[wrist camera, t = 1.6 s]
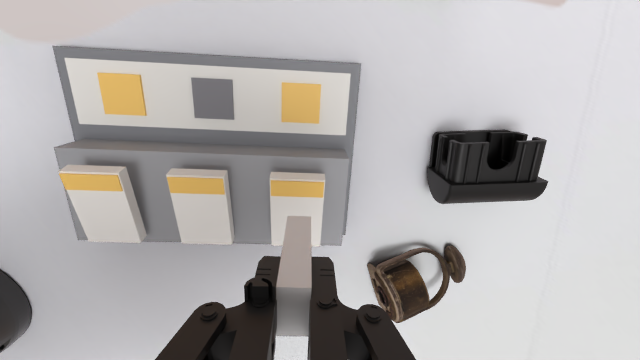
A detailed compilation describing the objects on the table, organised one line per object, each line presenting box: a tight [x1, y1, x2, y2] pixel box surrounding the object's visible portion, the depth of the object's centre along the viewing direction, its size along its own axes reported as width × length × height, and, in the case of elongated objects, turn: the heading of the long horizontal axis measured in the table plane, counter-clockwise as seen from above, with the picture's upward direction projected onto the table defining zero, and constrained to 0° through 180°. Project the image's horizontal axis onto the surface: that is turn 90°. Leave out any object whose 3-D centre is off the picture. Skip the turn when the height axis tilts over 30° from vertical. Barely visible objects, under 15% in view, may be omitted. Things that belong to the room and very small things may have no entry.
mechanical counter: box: [367, 245, 466, 323], centre depth 37 cm, size 7×13×10 cm
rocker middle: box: [166, 168, 235, 245], centre depth 28 cm, size 5×8×1 cm, turn 177°
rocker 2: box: [270, 172, 325, 247], centre depth 29 cm, size 5×8×1 cm, turn 177°
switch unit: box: [53, 46, 361, 246], centre depth 31 cm, size 30×20×5 cm, turn 87°
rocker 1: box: [58, 165, 147, 243], centre depth 28 cm, size 5×8×1 cm, turn 177°
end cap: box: [428, 130, 548, 204], centre depth 32 cm, size 10×7×7 cm
